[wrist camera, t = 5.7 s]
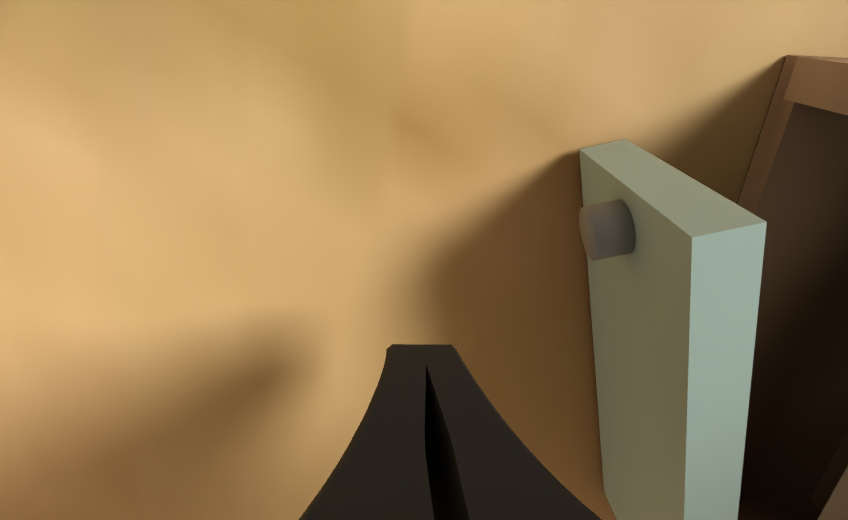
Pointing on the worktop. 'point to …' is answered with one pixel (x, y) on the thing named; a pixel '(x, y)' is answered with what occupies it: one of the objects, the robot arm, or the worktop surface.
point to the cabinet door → (669, 333)
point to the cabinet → (800, 300)
